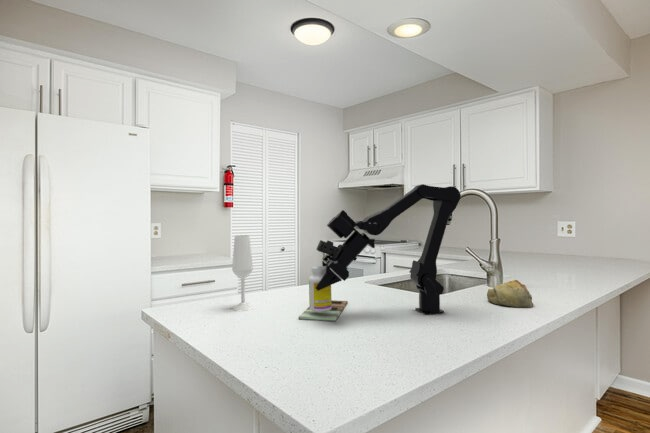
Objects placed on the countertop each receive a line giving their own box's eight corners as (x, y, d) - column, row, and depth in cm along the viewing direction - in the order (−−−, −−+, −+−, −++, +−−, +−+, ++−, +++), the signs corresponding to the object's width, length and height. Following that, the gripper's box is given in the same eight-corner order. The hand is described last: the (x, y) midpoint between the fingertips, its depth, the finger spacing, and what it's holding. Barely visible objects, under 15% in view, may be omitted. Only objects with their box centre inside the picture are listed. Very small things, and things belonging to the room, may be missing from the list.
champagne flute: (228, 310, 119) (227, 236, 119) (238, 305, 126) (237, 234, 126) (248, 311, 118) (246, 236, 118) (256, 305, 124) (255, 234, 124)
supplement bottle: (336, 310, 110) (335, 267, 110) (318, 314, 106) (317, 269, 106) (322, 305, 115) (322, 264, 115) (305, 309, 111) (304, 267, 111)
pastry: (542, 306, 119) (542, 281, 119) (514, 310, 114) (514, 285, 114) (505, 297, 132) (505, 275, 132) (479, 301, 127) (479, 278, 127)
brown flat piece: (316, 302, 129) (316, 299, 129) (347, 303, 126) (347, 300, 126) (298, 319, 108) (298, 316, 108) (335, 321, 105) (335, 318, 105)
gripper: (328, 229, 120) (295, 264, 119) (336, 232, 101) (297, 273, 100) (352, 252, 121) (320, 287, 120) (365, 259, 102) (326, 301, 101)
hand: (315, 287), depth 110 cm, fingers closed on supplement bottle, 7 cm apart
